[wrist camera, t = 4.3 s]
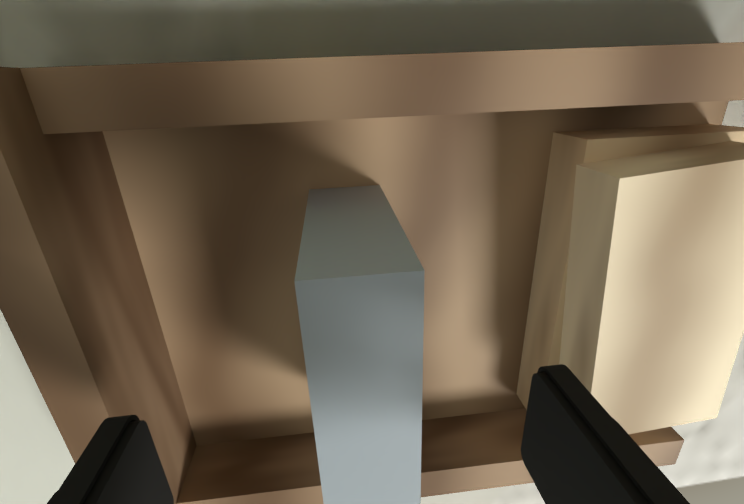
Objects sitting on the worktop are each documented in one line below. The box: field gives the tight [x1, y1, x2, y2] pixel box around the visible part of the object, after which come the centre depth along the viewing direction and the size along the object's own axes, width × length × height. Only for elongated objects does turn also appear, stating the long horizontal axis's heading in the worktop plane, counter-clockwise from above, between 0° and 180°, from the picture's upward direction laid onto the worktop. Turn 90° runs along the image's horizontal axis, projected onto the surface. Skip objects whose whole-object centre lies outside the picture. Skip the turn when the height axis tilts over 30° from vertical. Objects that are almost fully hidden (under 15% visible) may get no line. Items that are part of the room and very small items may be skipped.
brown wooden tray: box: [0, 42, 744, 504], centre depth 14 cm, size 23×17×5 cm
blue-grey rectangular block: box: [294, 185, 425, 504], centre depth 13 cm, size 2×9×7 cm, turn 2°
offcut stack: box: [516, 124, 744, 434], centre depth 15 cm, size 6×12×4 cm, turn 2°
